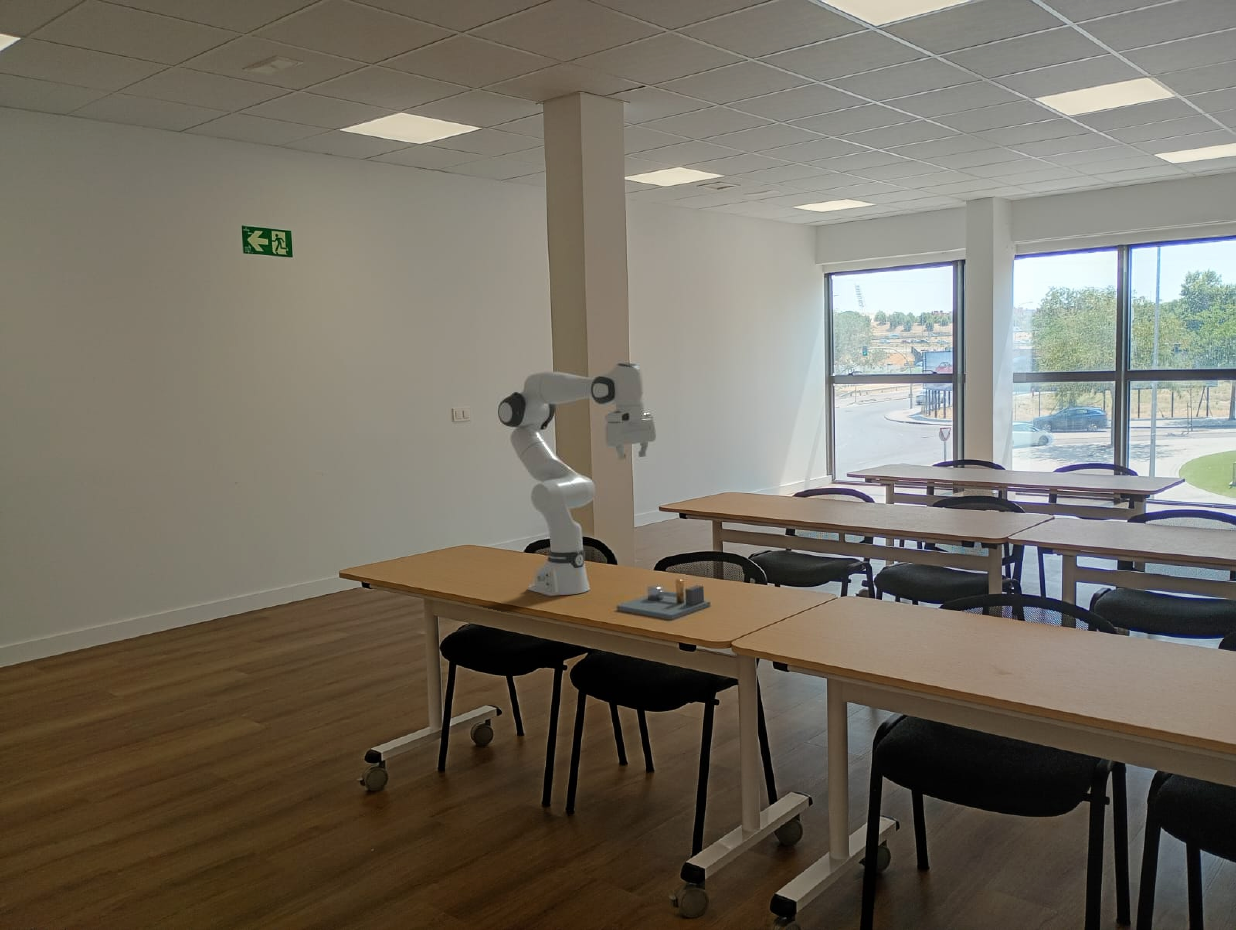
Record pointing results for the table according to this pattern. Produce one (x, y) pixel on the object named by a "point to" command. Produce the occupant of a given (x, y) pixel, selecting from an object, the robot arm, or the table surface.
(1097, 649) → the table surface
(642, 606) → the stand
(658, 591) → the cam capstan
